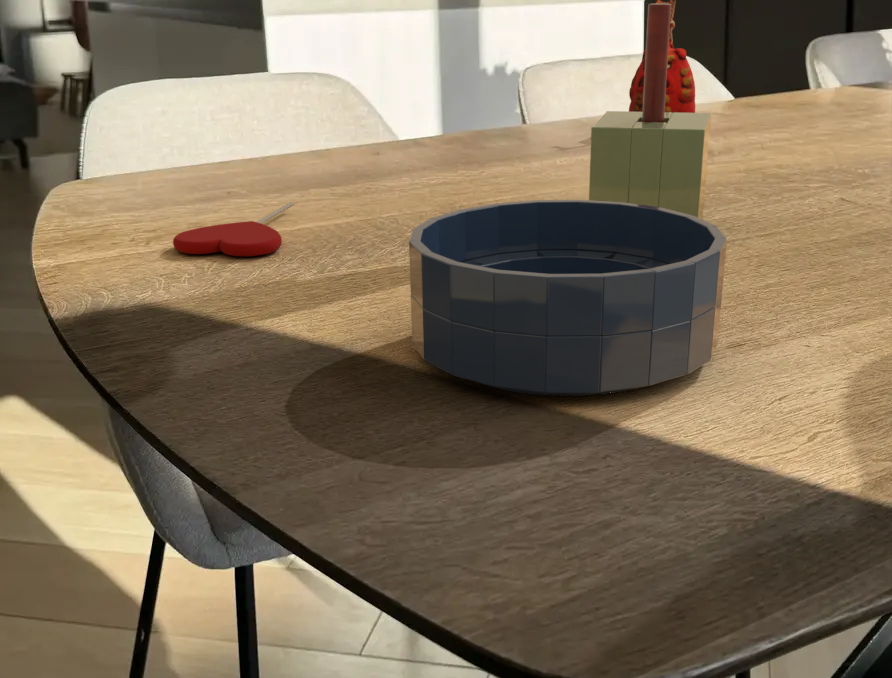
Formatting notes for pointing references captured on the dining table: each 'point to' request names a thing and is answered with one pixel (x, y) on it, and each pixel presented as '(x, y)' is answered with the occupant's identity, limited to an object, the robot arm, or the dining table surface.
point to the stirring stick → (656, 62)
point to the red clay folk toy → (668, 79)
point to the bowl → (566, 295)
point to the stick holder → (651, 160)
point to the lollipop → (232, 238)
